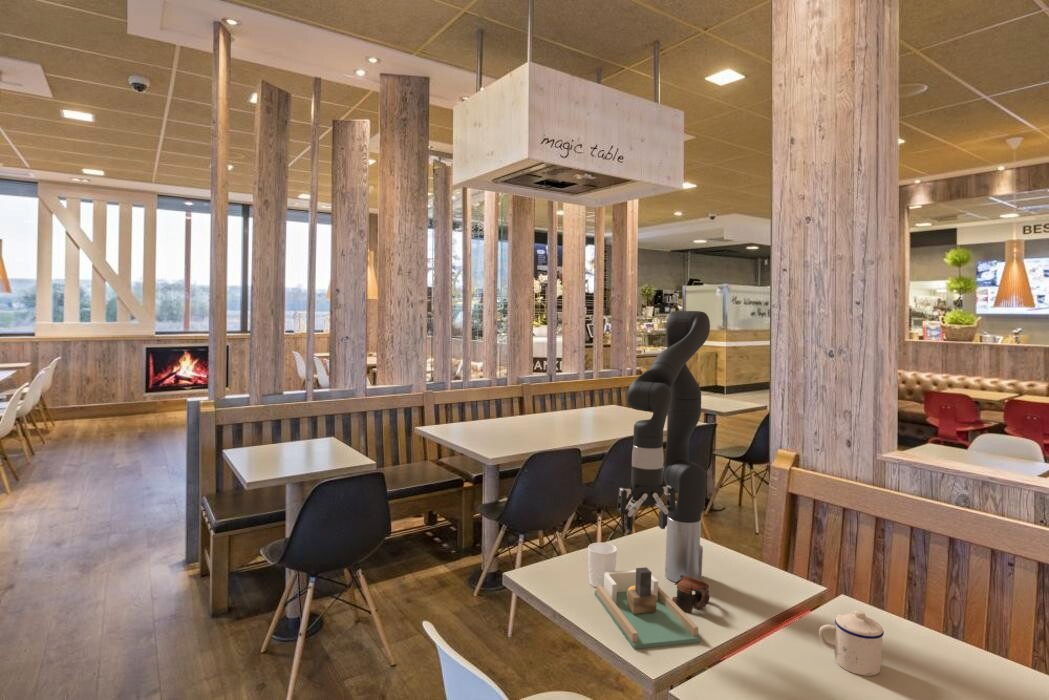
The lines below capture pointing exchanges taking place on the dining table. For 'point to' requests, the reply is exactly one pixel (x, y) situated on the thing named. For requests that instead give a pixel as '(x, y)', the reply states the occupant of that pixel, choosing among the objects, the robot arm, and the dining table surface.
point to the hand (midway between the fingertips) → (645, 529)
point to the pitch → (645, 614)
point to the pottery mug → (685, 594)
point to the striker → (642, 593)
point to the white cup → (600, 562)
